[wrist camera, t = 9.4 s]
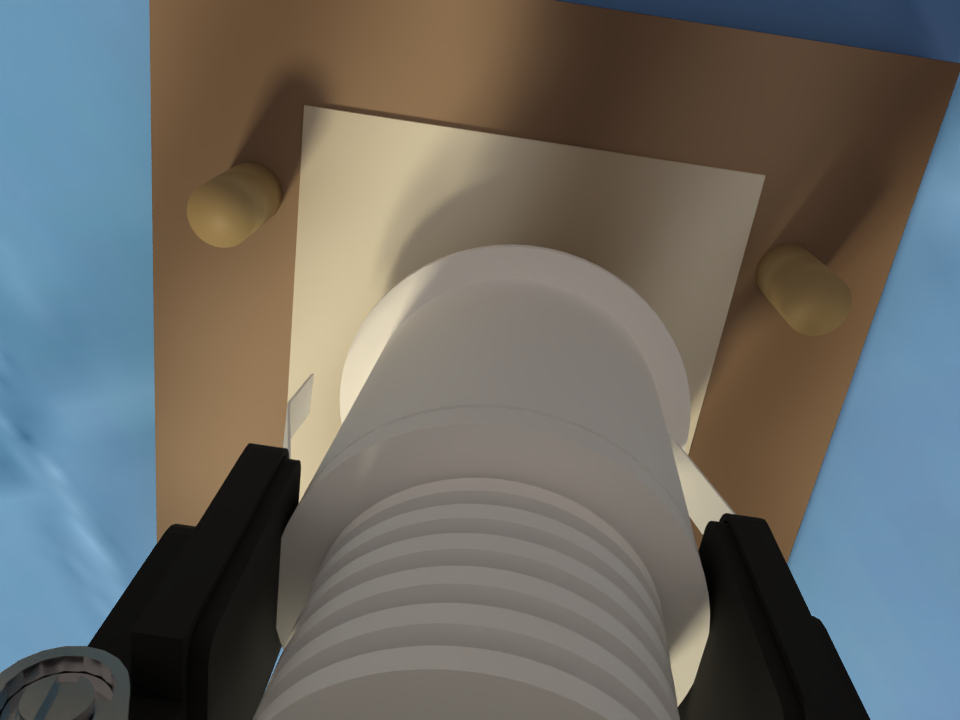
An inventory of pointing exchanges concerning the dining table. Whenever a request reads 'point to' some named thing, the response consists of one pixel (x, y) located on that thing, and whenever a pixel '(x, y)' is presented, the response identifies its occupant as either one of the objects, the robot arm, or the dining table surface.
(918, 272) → the dining table surface
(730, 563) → the robot arm
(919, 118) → the pin board
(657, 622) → the downlight
